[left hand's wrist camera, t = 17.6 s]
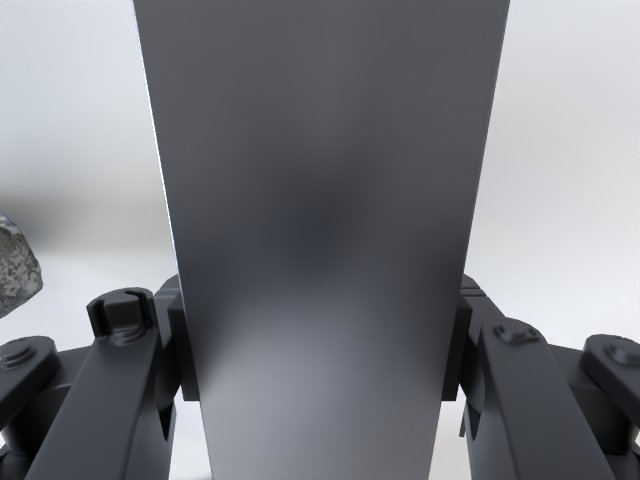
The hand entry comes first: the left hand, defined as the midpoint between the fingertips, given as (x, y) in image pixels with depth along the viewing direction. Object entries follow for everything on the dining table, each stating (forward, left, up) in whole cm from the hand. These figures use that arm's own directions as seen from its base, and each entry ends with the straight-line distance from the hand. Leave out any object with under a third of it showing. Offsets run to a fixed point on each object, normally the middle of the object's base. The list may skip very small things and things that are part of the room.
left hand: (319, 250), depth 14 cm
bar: (+6, +8, -1) cm, 10 cm away
